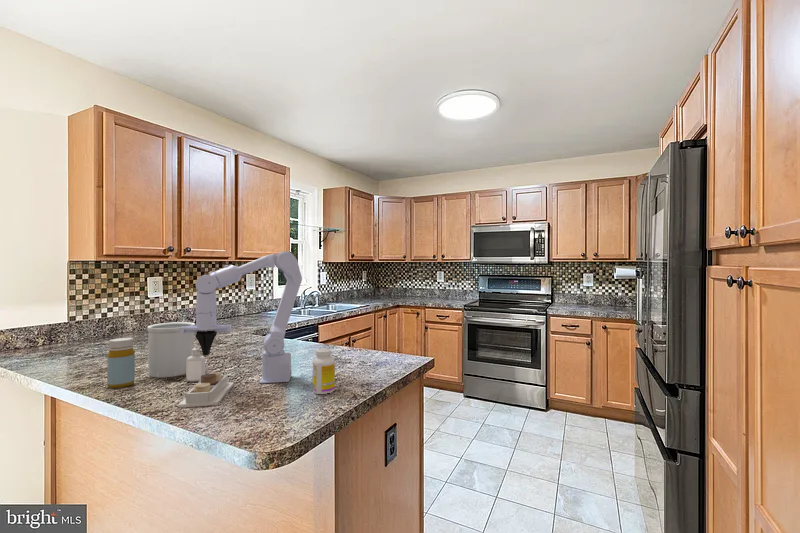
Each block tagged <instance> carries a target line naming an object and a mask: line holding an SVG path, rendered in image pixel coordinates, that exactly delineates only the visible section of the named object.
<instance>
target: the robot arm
mask: <svg viewBox="0 0 800 533" xmlns="http://www.w3.org/2000/svg"><path fill="white" fill-rule="evenodd" d="M275 267H276V268H277V269H278V270H279V271H280V272H281V273H282V274H283V277H284V278H285V279H286V283H285V286H284V288H283V291H282V295H281V298H280V301H279V303H278V306H277V310H276V313H275V316H274V318H273V321H272V324H271V326H270V328H269V331H268V332H267V333H266V335H265V336H264V337H263V340H262V342H263V343H262V344H263V346H264V351H263V352H262V353H261V356H262V359H261V360H262V362H261V363H262V364H261V365H262V366H261V368H262V370H261V373H262V374H261V376H262V377H261V378H260V380H259V383H258V384H270V383H271V384H272V383H286V382H287V383H288V382H290V380H291V377H292V372H293V371H292V354H291V352H285V350H284V348H285V340H284V339H285V336H286V330H287V327H288V323H289V320H290V317H291V314H292V311H293V308H294V305H295V302H296V299H297V296H298V293H299V290H300V286H301V284H302V280H303V277H302V273H301V269H300V266H299V261H298V260H297V258H296V257H295V255H294V253H292V252H290V251H288V250H287V251H286V250H285V251H281V252H279V253H278V252H276V253H272V254H267V255H264V256H262V257H259V258H257V259H255V260H252V261H250V262H247V263H245V264H242V265H240V266H236V265H233V264H231V265H229V264H225V265H224V266H223V267H222V268H220V269H217V270H215V271H213V270H211V271H209V272H208V273H209V274H203V275H201V276H199V277H198V278H197V279H196V281H195V288H196V290H197V291H196V305H195V306H196V310H195V311H196V312H195V313H196V314H195V317H196V318H195V321H196V323H195V326H183V327H181V329H180V333H194V338H195V339H196V340H197V341H198V344H199V346H200V350H201V352H202V356H203V357H205V356H209V355H210V353H211V349H212V345H213V342H214V340H215V338H216V336H217V334H218V333H220V332H221V333H223V332H224V333H225V332H227V333H230V332H232V325H231V324H217V297H216V296H217V292H216V290H217V288H218V289H223V288H225V287H227V286H230V285H232V284H235V283H237V282H240V281H241V279H242V277H243V276H244V275H246V274H250V273H252V272H254V271H255V272H256V271H258V270H260V269H264V268H275Z"/></svg>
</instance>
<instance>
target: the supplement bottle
mask: <svg viewBox="0 0 800 533" xmlns="http://www.w3.org/2000/svg"><path fill="white" fill-rule="evenodd" d="M315 355H316V357H315V358H314V359H313V360H312V391H313V393H314V394H315V395H318V394H326V395H328V394H327V393H330V394H332V393H334V392H333V391H336V379H335V378H336V375H335V374H336V373H335V371H336V369H335V366H336V365H335V364H336V361H335V359H334V358H333V357H332V349H331V348H318V349H316V350H315ZM331 392H332V393H331Z"/></svg>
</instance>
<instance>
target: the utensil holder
mask: <svg viewBox="0 0 800 533" xmlns="http://www.w3.org/2000/svg"><path fill="white" fill-rule="evenodd" d="M183 326H196V323H195V322H189V321H188V322H187V321H174V322H162V323H155V324H151V325H148V326H147V332H148V334H147V335H148V336H147V338H148V340H147V344H148V351H147V352H148V353H147V356H148V358H147V359H148V361H147V362H148V364H147V366H148V376H149V377H151V378H172V377H173V378H174V377H178V376H183V375H186V360H187V358H188V357H190V356H192V349H194V346H195V344H194V343H195V333H180V329H181V327H183Z"/></svg>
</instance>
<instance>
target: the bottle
mask: <svg viewBox="0 0 800 533" xmlns="http://www.w3.org/2000/svg"><path fill="white" fill-rule="evenodd" d="M108 342H109V343H108V344H109V345H108V346H109V351H108V353H107V365H106V366H107V370H106V371H107V374H106V375H107V377H106V378H107V381H106V382H107V387H108V388H110V389H120V388H126V387H129V386H132V385H134V383H135V381H136V380H135V378H136V375H135V370H136V368H135V365H136V362H135V355H136V354H135V350H134V338H133V337H118V338H113V339H110V340H109V341H108Z"/></svg>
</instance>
